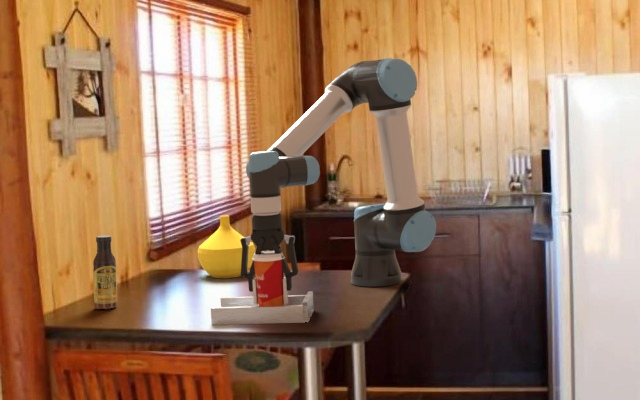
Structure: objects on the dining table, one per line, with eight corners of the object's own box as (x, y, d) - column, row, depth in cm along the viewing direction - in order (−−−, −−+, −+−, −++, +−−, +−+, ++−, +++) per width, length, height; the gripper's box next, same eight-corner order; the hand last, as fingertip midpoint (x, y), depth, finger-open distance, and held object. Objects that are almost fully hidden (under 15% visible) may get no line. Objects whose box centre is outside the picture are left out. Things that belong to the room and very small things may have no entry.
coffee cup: (254, 309, 241) (251, 251, 239) (286, 307, 242) (283, 249, 240) (255, 316, 233) (251, 256, 231) (288, 314, 233) (285, 254, 232)
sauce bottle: (97, 311, 253) (92, 238, 251) (92, 307, 259) (87, 236, 257) (121, 308, 256) (116, 236, 254) (115, 304, 262) (110, 233, 260)
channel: (313, 310, 243) (312, 291, 242) (308, 322, 230) (307, 302, 229) (222, 312, 245) (221, 293, 245) (211, 324, 232) (210, 304, 231)
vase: (225, 268, 313) (222, 211, 311) (268, 272, 302) (265, 213, 300) (186, 278, 298) (183, 218, 296) (230, 282, 287) (227, 220, 285)
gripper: (307, 210, 237) (312, 299, 240) (229, 213, 239) (235, 301, 242) (304, 213, 230) (308, 305, 232) (224, 216, 232) (229, 308, 234)
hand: (271, 303), depth 237 cm, fingers closed on coffee cup, 7 cm apart
